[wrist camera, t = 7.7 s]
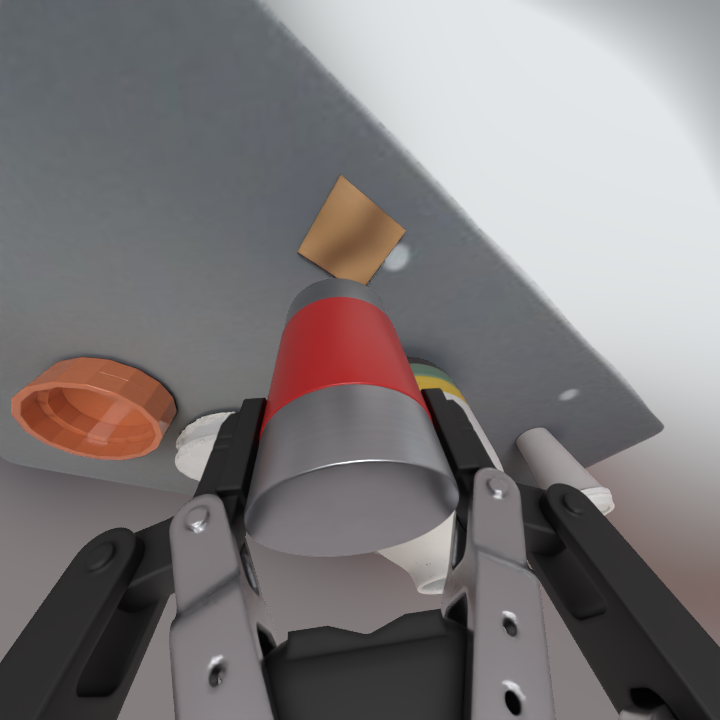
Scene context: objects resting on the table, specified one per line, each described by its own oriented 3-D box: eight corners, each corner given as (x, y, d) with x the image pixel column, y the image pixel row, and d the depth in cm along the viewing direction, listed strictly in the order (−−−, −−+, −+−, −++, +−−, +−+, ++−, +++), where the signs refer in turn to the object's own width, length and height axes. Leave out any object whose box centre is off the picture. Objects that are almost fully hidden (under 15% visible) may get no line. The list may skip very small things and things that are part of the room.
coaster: (297, 250, 27) (297, 251, 27) (340, 174, 24) (340, 174, 23) (359, 291, 31) (360, 292, 30) (405, 229, 27) (406, 230, 27)
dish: (44, 411, 36) (11, 442, 32) (51, 335, 30) (10, 362, 26) (163, 440, 43) (147, 469, 39) (190, 383, 36) (174, 410, 32)
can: (267, 340, 16) (206, 547, 8) (321, 253, 14) (318, 427, 5) (350, 378, 19) (373, 563, 10) (408, 313, 16) (505, 492, 8)
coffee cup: (500, 451, 57) (547, 528, 45) (521, 423, 51) (581, 503, 39) (539, 449, 58) (594, 524, 47) (564, 421, 53) (634, 498, 41)
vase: (403, 432, 49) (453, 607, 30) (320, 406, 42) (319, 611, 23) (469, 369, 41) (595, 555, 22) (380, 324, 34) (452, 538, 15)
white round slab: (326, 437, 47) (327, 474, 42) (263, 485, 55) (257, 521, 49) (218, 387, 37) (200, 426, 32) (159, 453, 45) (137, 494, 39)
